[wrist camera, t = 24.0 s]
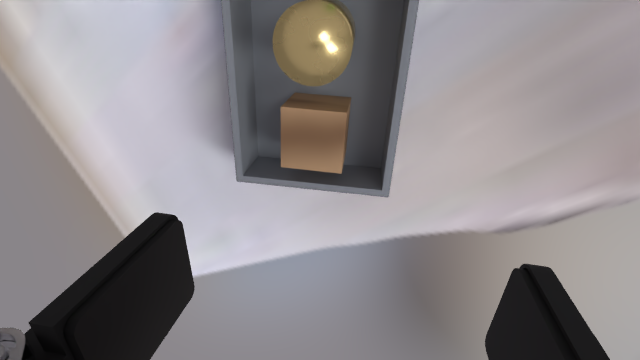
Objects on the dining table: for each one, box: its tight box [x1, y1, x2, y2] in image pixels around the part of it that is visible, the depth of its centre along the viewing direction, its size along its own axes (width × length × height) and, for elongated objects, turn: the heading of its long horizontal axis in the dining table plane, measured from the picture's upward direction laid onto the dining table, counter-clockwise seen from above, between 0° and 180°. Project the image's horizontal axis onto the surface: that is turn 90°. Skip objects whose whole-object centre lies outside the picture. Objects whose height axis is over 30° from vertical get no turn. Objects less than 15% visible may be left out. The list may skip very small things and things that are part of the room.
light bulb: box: [273, 0, 355, 86], centre depth 23 cm, size 5×5×7 cm
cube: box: [281, 93, 351, 174], centre depth 28 cm, size 5×5×5 cm
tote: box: [221, 0, 419, 197], centre depth 27 cm, size 17×13×5 cm
